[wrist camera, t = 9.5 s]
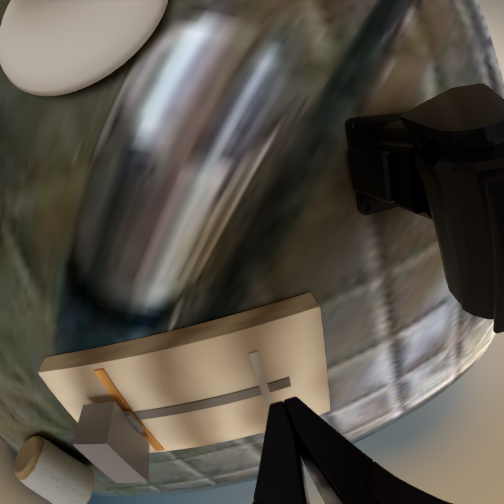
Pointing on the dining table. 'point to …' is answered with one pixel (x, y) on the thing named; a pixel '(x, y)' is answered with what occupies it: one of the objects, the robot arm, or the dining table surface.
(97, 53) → the flower in vase
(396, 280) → the dining table surface
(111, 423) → the fader tab
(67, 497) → the ceramic mug
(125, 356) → the fader console
